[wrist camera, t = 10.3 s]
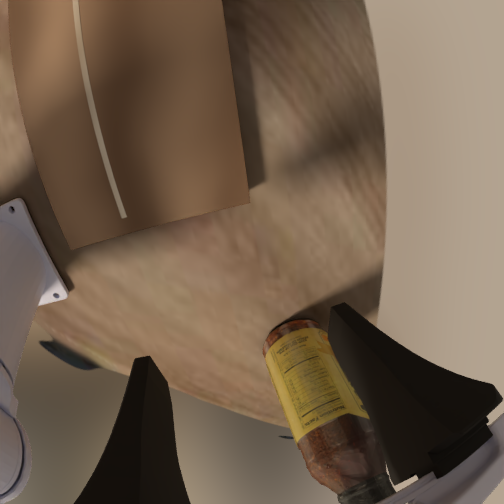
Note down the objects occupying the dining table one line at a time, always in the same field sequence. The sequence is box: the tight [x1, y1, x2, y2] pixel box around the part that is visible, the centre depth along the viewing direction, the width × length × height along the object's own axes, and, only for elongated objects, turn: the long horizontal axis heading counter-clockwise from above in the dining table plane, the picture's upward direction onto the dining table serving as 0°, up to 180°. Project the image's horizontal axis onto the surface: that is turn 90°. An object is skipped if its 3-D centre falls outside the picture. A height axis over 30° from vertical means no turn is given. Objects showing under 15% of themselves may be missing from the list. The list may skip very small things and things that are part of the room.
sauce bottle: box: [263, 319, 396, 504], centre depth 19 cm, size 6×6×20 cm
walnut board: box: [8, 0, 250, 250], centre depth 10 cm, size 11×22×2 cm, turn 7°
